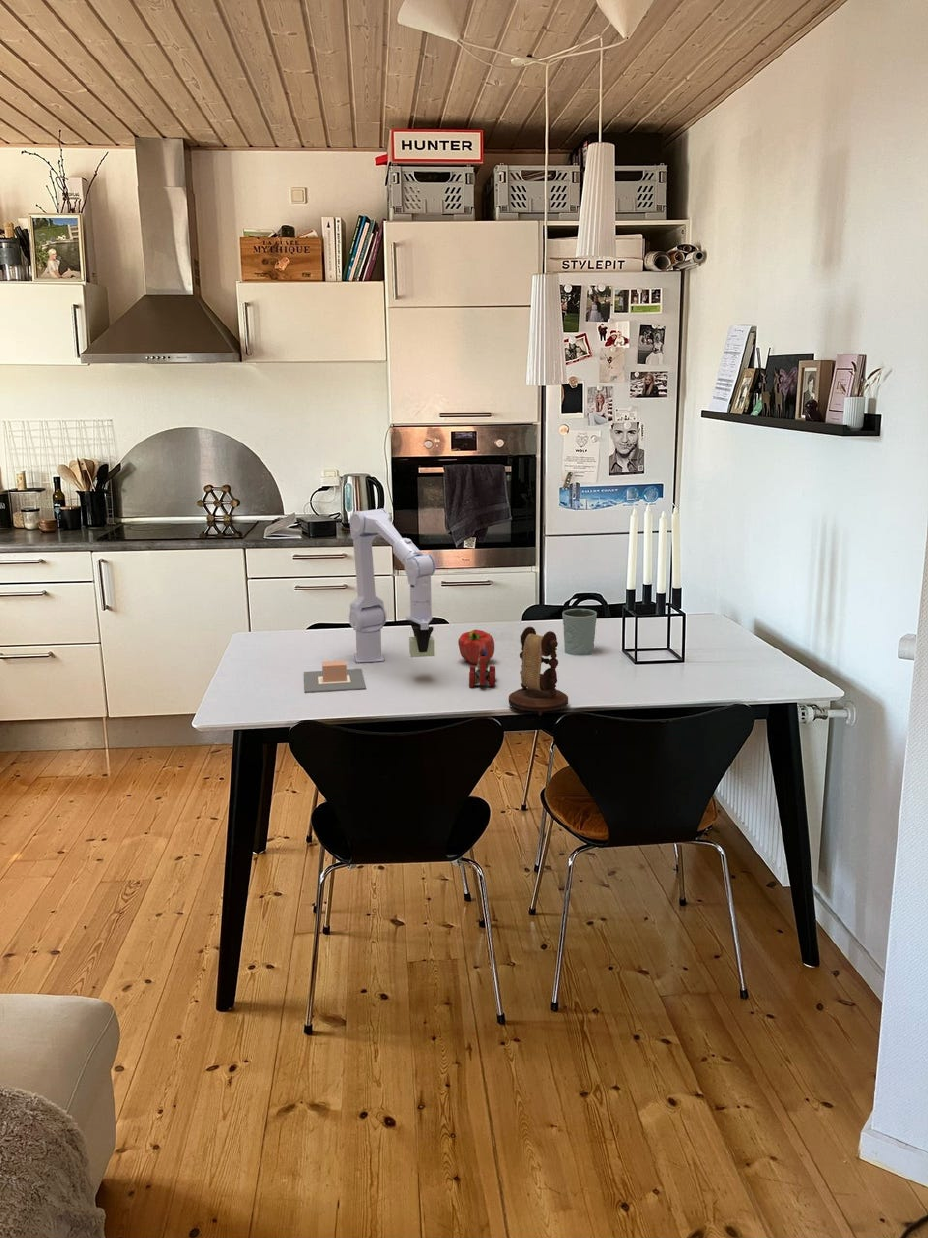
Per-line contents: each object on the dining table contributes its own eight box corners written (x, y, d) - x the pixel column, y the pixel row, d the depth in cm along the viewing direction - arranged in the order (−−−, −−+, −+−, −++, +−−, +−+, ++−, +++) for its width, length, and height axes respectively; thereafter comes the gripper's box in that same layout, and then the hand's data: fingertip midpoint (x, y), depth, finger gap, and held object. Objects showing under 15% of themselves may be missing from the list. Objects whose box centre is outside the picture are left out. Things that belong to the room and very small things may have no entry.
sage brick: (409, 652, 271) (409, 636, 270) (432, 651, 272) (432, 635, 271) (410, 657, 267) (410, 641, 266) (434, 656, 268) (434, 639, 266)
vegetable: (487, 669, 279) (487, 634, 277) (452, 666, 283) (452, 632, 280) (498, 659, 289) (498, 625, 287) (465, 656, 293) (464, 623, 290)
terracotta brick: (322, 677, 271) (321, 661, 270) (346, 676, 272) (345, 660, 271) (323, 682, 267) (322, 666, 266) (347, 680, 268) (346, 664, 267)
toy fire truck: (468, 690, 261) (468, 652, 258) (469, 676, 273) (469, 640, 270) (495, 690, 260) (495, 652, 258) (495, 676, 272) (495, 640, 270)
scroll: (496, 707, 247) (496, 629, 242) (535, 694, 257) (536, 618, 252) (541, 721, 237) (541, 640, 232) (580, 706, 247) (581, 628, 242)
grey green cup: (595, 647, 300) (596, 608, 297) (596, 656, 290) (597, 616, 288) (561, 647, 301) (562, 608, 298) (561, 656, 291) (562, 616, 289)
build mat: (303, 673, 277) (303, 671, 277) (361, 670, 280) (361, 668, 280) (304, 693, 260) (304, 691, 260) (366, 689, 262) (366, 687, 262)
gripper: (402, 595, 272) (404, 643, 275) (409, 607, 258) (410, 657, 261) (428, 594, 273) (429, 641, 276) (436, 605, 259) (436, 655, 262)
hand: (421, 649), depth 269 cm, fingers closed on sage brick, 4 cm apart
